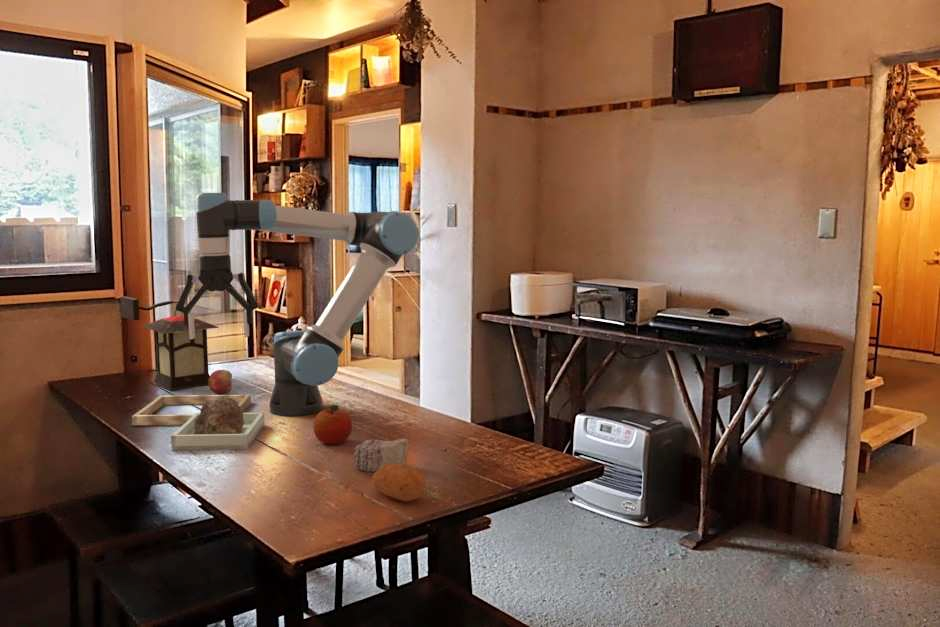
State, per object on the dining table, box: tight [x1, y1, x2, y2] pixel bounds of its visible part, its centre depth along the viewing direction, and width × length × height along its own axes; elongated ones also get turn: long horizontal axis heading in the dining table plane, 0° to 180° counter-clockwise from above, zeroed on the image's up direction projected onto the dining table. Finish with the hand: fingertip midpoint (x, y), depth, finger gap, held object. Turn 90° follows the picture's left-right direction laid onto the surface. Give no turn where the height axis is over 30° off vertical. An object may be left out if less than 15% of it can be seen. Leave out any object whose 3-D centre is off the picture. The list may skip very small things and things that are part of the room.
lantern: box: [119, 296, 220, 392], centre depth 254 cm, size 18×26×30 cm
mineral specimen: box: [352, 438, 410, 473], centre depth 177 cm, size 13×7×6 cm, turn 115°
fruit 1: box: [208, 369, 233, 395], centre depth 244 cm, size 8×8×8 cm
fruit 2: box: [312, 404, 353, 446], centre depth 195 cm, size 10×10×10 cm
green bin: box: [170, 412, 265, 451], centre depth 200 cm, size 18×21×4 cm
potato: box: [372, 464, 426, 503], centre depth 158 cm, size 7×13×7 cm, turn 41°
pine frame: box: [131, 394, 252, 426], centre depth 223 cm, size 26×23×2 cm
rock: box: [194, 398, 244, 435], centre depth 199 cm, size 14×9×10 cm
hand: (219, 337), depth 201 cm, fingers open, 13 cm apart
